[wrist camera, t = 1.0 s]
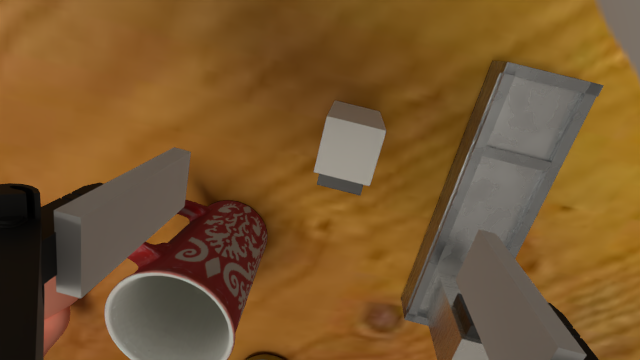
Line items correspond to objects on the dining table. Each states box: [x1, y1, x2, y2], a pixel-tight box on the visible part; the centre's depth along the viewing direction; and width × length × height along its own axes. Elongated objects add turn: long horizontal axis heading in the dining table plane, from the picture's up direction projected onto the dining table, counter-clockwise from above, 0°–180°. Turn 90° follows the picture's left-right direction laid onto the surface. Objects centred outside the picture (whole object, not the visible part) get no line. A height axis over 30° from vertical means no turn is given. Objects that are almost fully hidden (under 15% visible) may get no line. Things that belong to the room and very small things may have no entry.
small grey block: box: [314, 100, 386, 195], centre depth 28 cm, size 5×4×8 cm
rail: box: [401, 61, 604, 360], centre depth 28 cm, size 24×7×10 cm, turn 167°
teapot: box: [43, 276, 79, 357], centre depth 36 cm, size 12×18×10 cm
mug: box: [105, 200, 267, 360], centre depth 29 cm, size 13×9×14 cm
